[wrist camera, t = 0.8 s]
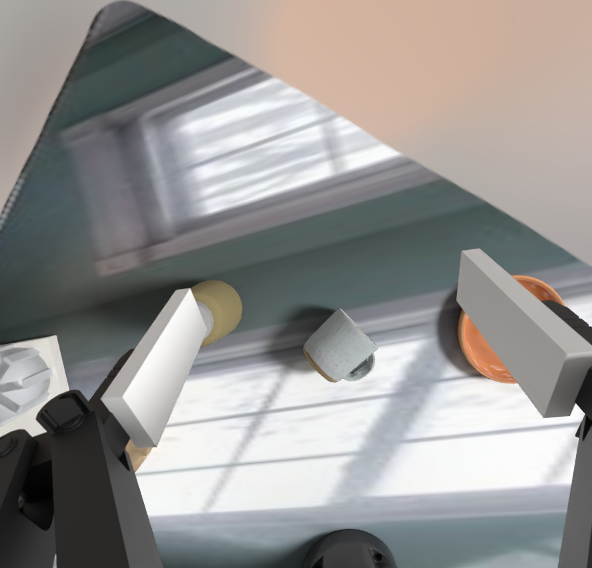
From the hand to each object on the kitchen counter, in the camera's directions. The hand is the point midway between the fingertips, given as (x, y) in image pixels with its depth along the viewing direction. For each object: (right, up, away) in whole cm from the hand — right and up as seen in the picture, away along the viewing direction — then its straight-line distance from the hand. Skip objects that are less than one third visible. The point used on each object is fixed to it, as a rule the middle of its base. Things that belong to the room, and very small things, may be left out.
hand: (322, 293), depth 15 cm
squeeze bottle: (-13, -3, +31) cm, 34 cm away
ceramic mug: (+6, -9, +32) cm, 33 cm away
